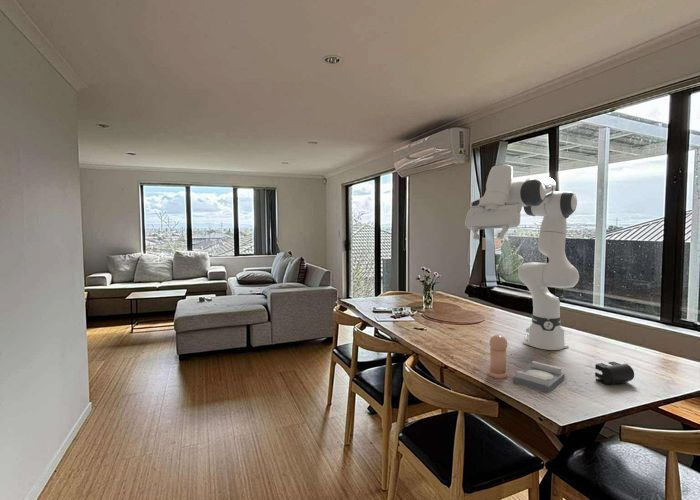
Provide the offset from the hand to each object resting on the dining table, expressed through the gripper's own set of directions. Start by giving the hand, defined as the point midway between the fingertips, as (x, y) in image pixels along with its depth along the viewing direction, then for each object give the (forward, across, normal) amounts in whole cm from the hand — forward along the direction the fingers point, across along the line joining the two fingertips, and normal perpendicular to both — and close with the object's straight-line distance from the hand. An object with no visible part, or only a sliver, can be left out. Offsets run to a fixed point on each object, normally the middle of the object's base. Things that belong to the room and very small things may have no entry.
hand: (487, 238), depth 133 cm
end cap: (+36, -28, -52) cm, 69 cm away
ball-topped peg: (+44, +2, -28) cm, 53 cm away
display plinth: (+42, -10, -34) cm, 55 cm away
